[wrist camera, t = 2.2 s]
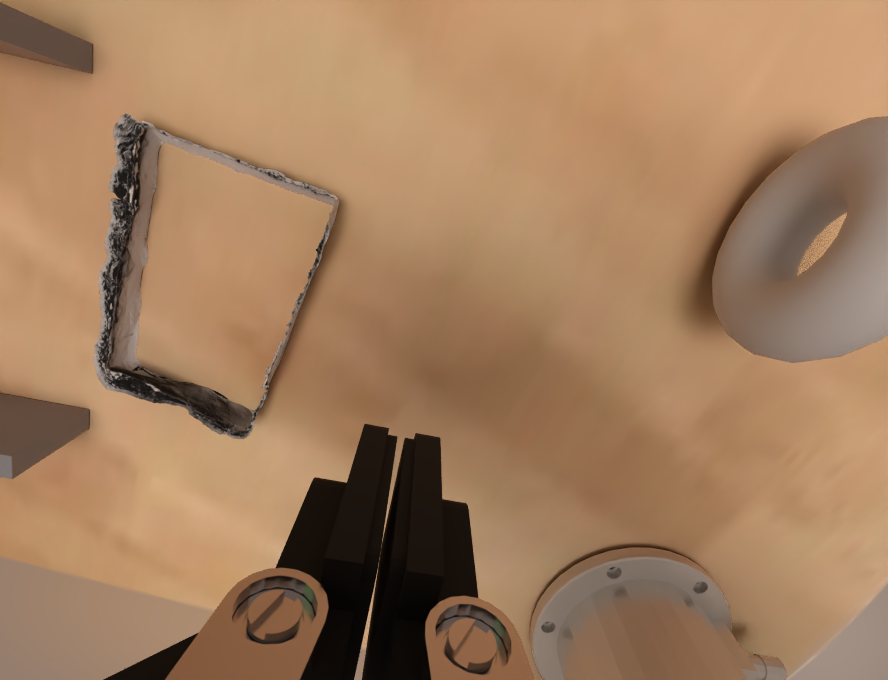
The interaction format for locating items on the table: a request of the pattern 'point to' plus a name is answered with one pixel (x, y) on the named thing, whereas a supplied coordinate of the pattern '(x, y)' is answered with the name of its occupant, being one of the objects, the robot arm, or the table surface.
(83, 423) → the tray
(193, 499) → the table surface
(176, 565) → the table surface
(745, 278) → the donut
